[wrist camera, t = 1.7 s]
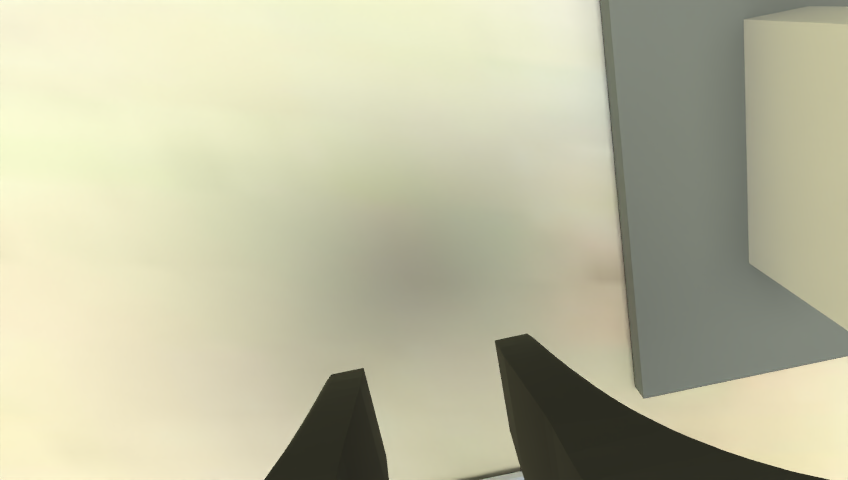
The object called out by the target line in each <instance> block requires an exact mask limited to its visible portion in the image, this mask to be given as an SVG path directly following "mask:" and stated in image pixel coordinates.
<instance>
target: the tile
mask: <svg viewBox="0 0 848 480" xmlns="http://www.w3.org/2000/svg"><path fill="white" fill-rule="evenodd" d="M744 60H745V105H746V149H747V194H748V239H749V263H750V264H751V265H752V266H754V267H755V268H757V269H758V270H760V271H761V272H763V273H764V274H766V275H767V276H769V277H770V278H771V279H773V280H774V281H776V282H777V283H779V284H780V285H782V286H783V287H785V288H786V289H788V290H789V291H790V292H792V293H793V294H795V295H796V296H798V297H799V298H801V299H802V300H804V301H805V302H806V303H808V304H809V305H811V306H812V307H814V308H815V309H817V310H818V311H820V312H821V313H823V314H824V315H825V316H827V317H828V318H830V319H831V320H833V321H834V322H836V323H837V324H839V325H840V326H842V327H843V328H844V329H846V330H847V331H848V7H839V6H807V7H802V8H798V9H793V10H788V11H783V12H778V13H773V14H768V15H763V16H758V17H753V18H748V19H744Z"/></svg>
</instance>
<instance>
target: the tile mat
mask: <svg viewBox="0 0 848 480" xmlns="http://www.w3.org/2000/svg"><path fill="white" fill-rule="evenodd" d="M807 6H839V7H848V0H600V7H601V18H602V29H603V40H604V51H605V62H606V72H607V83H608V94H609V105H610V116H611V127H612V138H613V148H614V159H615V170H616V181H617V192H618V203H619V213H620V224H621V235H622V246H623V257H624V268H625V279H626V289H627V300H628V311H629V322H630V333H631V344H632V355H633V365H634V376H635V387H636V388H637V390H638V391H639V393H640V394H641V395H642V397H643V398H649V397H654V396H659V395H663V394H668V393H673V392H678V391H683V390H687V389H692V388H697V387H702V386H707V385H711V384H716V383H721V382H726V381H731V380H735V379H740V378H745V377H750V376H755V375H759V374H764V373H769V372H774V371H779V370H783V369H788V368H793V367H798V366H803V365H807V364H812V363H817V362H822V361H826V360H831V359H836V358H841V357H846V356H848V331H847V330H846V329H844V328H843V327H842V326H840V325H839V324H837V323H836V322H834V321H833V320H831V319H830V318H828V317H827V316H825V315H824V314H823V313H821V312H820V311H818V310H817V309H815V308H814V307H812V306H811V305H809V304H808V303H806V302H805V301H804V300H802V299H801V298H799V297H798V296H796V295H795V294H793V293H792V292H790V291H789V290H788V289H786V288H785V287H783V286H782V285H780V284H779V283H777V282H776V281H774V280H773V279H771V278H770V277H769V276H767V275H766V274H764V273H763V272H761V271H760V270H758V269H757V268H755V267H754V266H752V265H751V264H750V263H749V239H748V194H747V149H746V105H745V60H744V19H748V18H753V17H758V16H763V15H768V14H773V13H778V12H783V11H788V10H793V9H798V8H802V7H807Z"/></svg>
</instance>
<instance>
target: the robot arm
mask: <svg viewBox="0 0 848 480" xmlns="http://www.w3.org/2000/svg"><path fill="white" fill-rule="evenodd" d="M495 344H496V350H497V356H498V362H499V368H500V374H501V380H502V386H503V392H504V398H505V403H506V409H507V415H508V421H509V427H510V432H511V436H512V439H513V443H514V446H515V450H516V453H517V457H518V460H519V463H520V467H521V470H522V471H519V472H515V473H510V474H505V475H500V476H496V477H491V478H486V479H481V480H828V479H824V478H819V477H814V476H810V475H805V474H801V473H796V472H792V471H788V470H785V469H781V468H778V467H774V466H771V465H767V464H764V463H761V462H757V461H754V460H750V459H747V458H744V457H741V456H738V455H735V454H732V453H729V452H726V451H723V450H721V449H718V448H716V447H713V446H710V445H708V444H705V443H703V442H700V441H698V440H695V439H692V438H690V437H687V436H685V435H683V434H681V433H678V432H676V431H674V430H672V429H669V428H667V427H665V426H663V425H661V424H659V423H657V422H655V421H653V420H651V419H649V418H647V417H645V416H643V415H641V414H639V413H637V412H636V411H634V410H632V409H630V408H628V407H627V406H625V405H623V404H622V403H620V402H618V401H617V400H615V399H613V398H612V397H610V396H609V395H607V394H606V393H604V392H603V391H601V390H600V389H598V388H597V387H595V386H594V385H592V384H591V383H590V382H588V381H587V380H585V379H584V378H583V377H581V376H580V375H579V374H577V373H576V372H574V371H573V370H572V369H570V368H569V367H568V366H567V365H565V364H564V363H563V362H562V361H560V360H559V359H558V358H557V357H555V356H554V355H553V354H552V353H550V352H549V351H548V350H547V349H546V348H544V347H543V346H542V345H541V344H540V343H539V342H537V341H536V340H535V339H534V338H533V337H531V336H530V335H528V334H524V335H519V336H514V337H509V338H505V339H500V340H495ZM264 480H389V477H388V468H387V459H386V454H385V450H384V446H383V442H382V438H381V434H380V430H379V426H378V422H377V419H376V415H375V411H374V407H373V403H372V399H371V395H370V391H369V387H368V383H367V380H366V376H365V372H364V368H361V369H356V370H351V371H347V372H342V373H337V374H332V375H331V376H330V377H329V379H328V380H327V382H326V383H325V385H324V387H323V389H322V390H321V392H320V394H319V396H318V398H317V399H316V401H315V403H314V405H313V406H312V408H311V410H310V411H309V413H308V415H307V417H306V418H305V420H304V422H303V423H302V425H301V426H300V428H299V430H298V431H297V433H296V434H295V436H294V438H293V439H292V441H291V442H290V444H289V445H288V447H287V448H286V450H285V451H284V453H283V454H282V456H281V457H280V458H279V460H278V461H277V463H276V464H275V465H274V467H273V468H272V470H271V471H270V472H269V474H268V475H267V477H266V478H265V479H264Z"/></svg>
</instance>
